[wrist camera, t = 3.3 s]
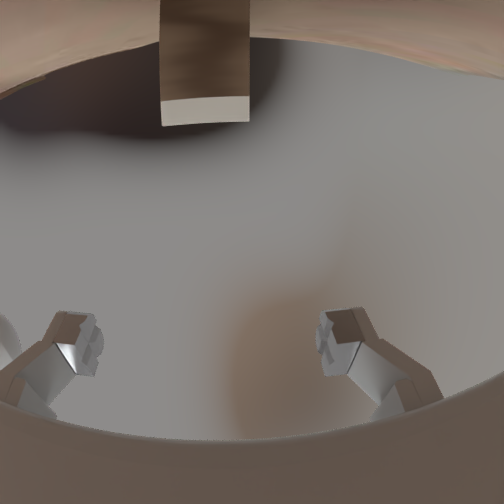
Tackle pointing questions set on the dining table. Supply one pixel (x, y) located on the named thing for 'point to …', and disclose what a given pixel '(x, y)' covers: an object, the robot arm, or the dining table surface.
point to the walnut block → (204, 61)
